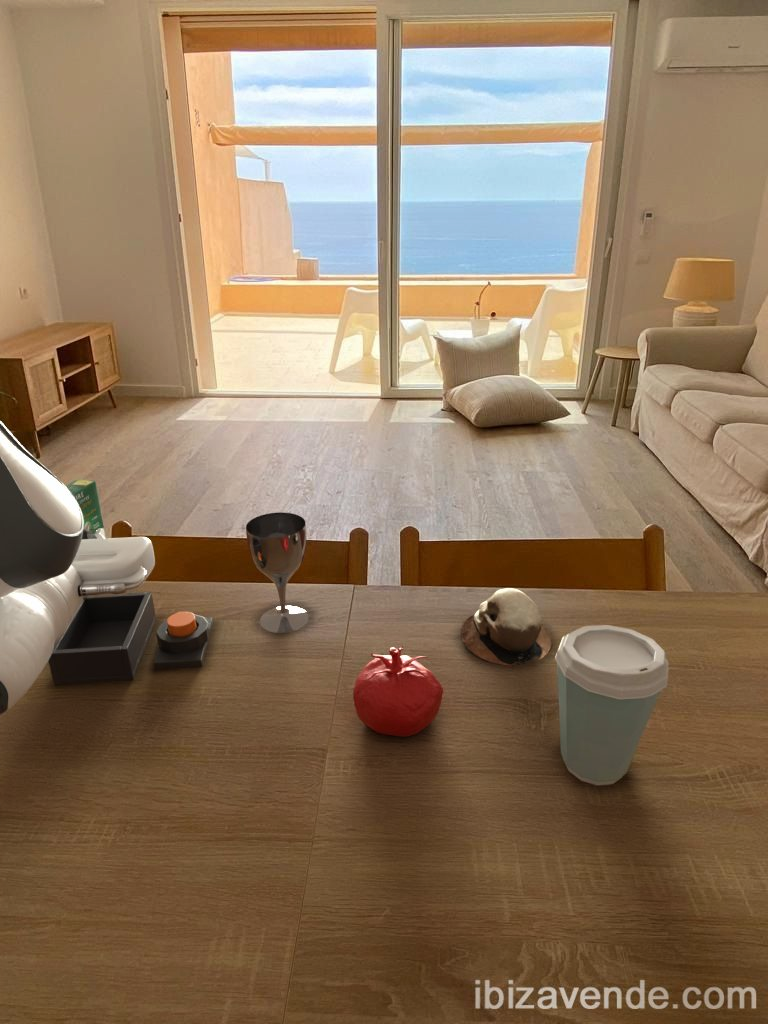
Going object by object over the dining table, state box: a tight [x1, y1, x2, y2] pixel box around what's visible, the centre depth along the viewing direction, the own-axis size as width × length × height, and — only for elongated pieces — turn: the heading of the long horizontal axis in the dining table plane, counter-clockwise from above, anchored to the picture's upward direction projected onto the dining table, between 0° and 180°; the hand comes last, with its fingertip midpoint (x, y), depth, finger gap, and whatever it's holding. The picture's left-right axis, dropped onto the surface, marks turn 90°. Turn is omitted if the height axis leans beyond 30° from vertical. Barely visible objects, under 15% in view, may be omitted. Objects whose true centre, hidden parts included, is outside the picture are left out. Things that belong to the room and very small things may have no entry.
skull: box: [460, 587, 552, 667], centre depth 93 cm, size 12×10×10 cm
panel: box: [153, 614, 214, 671], centre depth 93 cm, size 6×10×3 cm, turn 5°
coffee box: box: [65, 478, 107, 601], centre depth 82 cm, size 8×3×13 cm, turn 168°
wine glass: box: [245, 511, 309, 634], centre depth 96 cm, size 8×8×15 cm
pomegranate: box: [352, 646, 444, 737], centre depth 78 cm, size 10×10×9 cm
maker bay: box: [47, 591, 157, 686], centre depth 92 cm, size 10×14×5 cm
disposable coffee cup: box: [554, 624, 670, 786], centre depth 70 cm, size 11×11×15 cm
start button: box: [166, 611, 197, 637], centre depth 92 cm, size 4×4×2 cm
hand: (77, 534), depth 82 cm, fingers closed on coffee box, 3 cm apart
